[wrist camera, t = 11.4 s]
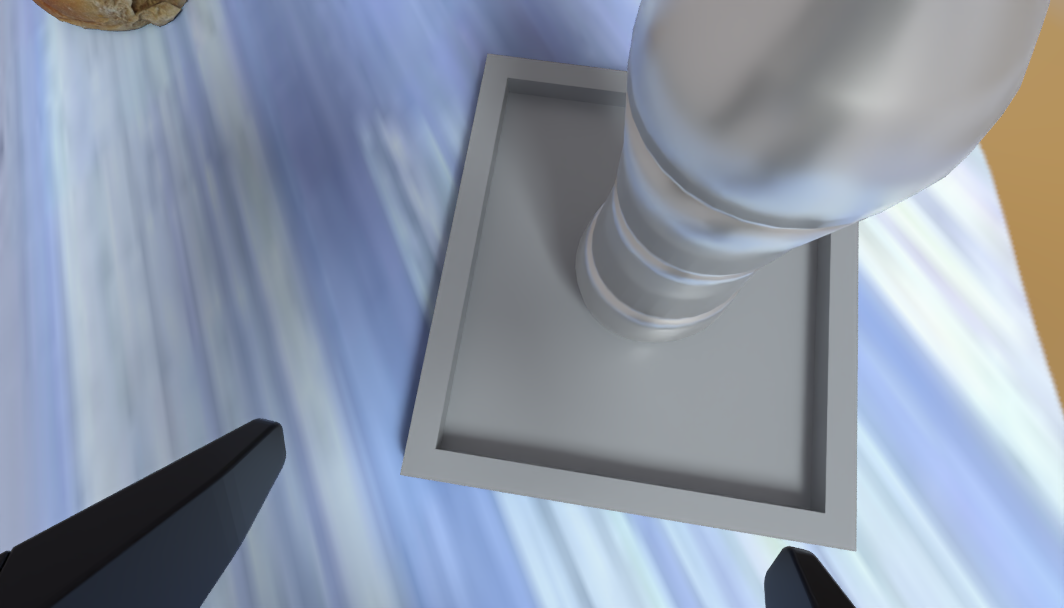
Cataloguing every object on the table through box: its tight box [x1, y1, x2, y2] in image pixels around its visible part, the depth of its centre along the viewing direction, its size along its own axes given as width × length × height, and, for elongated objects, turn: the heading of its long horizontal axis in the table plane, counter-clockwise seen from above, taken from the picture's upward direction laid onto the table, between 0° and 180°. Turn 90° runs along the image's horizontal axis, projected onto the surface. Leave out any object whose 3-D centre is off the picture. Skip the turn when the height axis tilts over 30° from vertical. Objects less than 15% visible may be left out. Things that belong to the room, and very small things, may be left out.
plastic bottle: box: [575, 0, 1050, 343], centre depth 14 cm, size 6×7×20 cm
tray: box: [400, 54, 858, 551], centre depth 23 cm, size 20×18×2 cm
